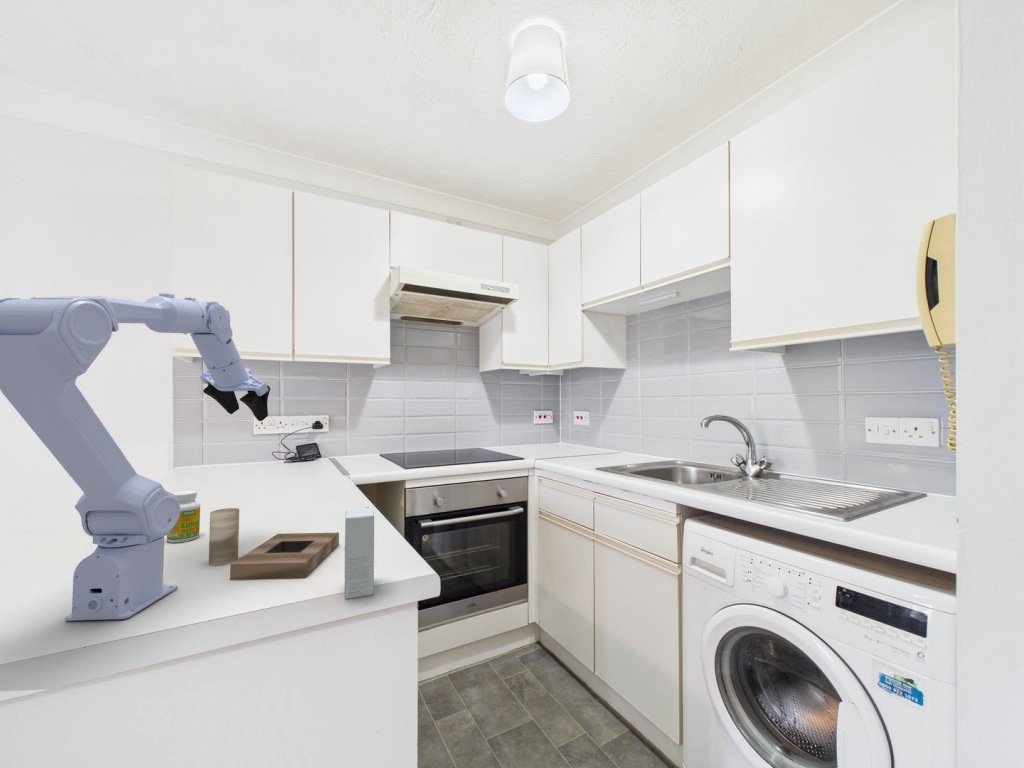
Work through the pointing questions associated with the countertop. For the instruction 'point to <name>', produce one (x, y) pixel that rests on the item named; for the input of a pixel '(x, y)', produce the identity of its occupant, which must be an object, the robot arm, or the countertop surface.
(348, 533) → the skincare box
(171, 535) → the supplement bottle
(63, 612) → the countertop surface
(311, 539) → the socket block
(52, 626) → the countertop surface
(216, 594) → the countertop surface
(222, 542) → the birch peg
